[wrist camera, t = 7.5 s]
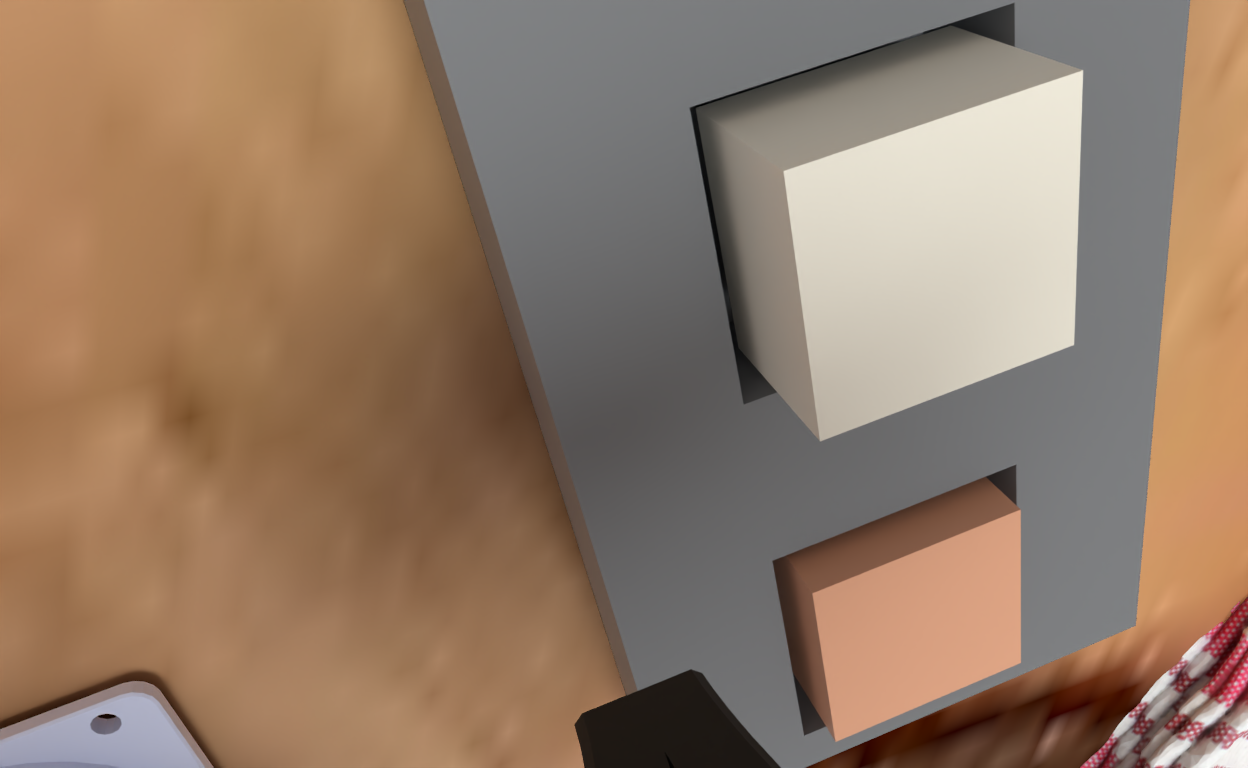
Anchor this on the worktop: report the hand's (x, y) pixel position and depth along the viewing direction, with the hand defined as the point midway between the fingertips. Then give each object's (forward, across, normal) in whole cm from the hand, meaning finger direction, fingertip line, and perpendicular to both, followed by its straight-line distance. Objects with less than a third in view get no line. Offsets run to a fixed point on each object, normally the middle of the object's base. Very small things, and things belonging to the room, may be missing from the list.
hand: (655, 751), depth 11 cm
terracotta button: (+8, -6, +7) cm, 12 cm away
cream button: (+7, -6, -2) cm, 9 cm away
